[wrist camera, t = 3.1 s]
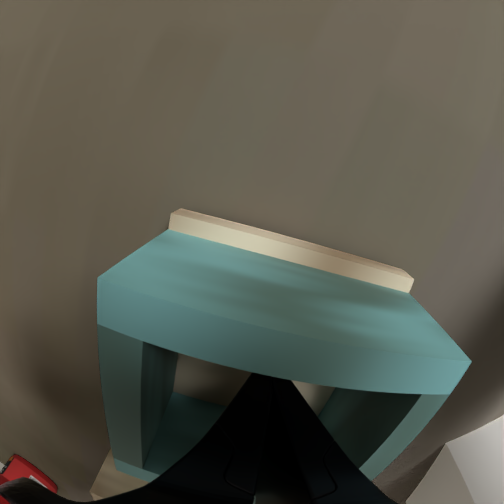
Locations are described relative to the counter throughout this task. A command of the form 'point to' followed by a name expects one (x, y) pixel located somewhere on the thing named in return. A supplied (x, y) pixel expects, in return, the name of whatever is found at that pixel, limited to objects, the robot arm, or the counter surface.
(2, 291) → the counter surface
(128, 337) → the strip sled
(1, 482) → the canned food
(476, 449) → the milk
